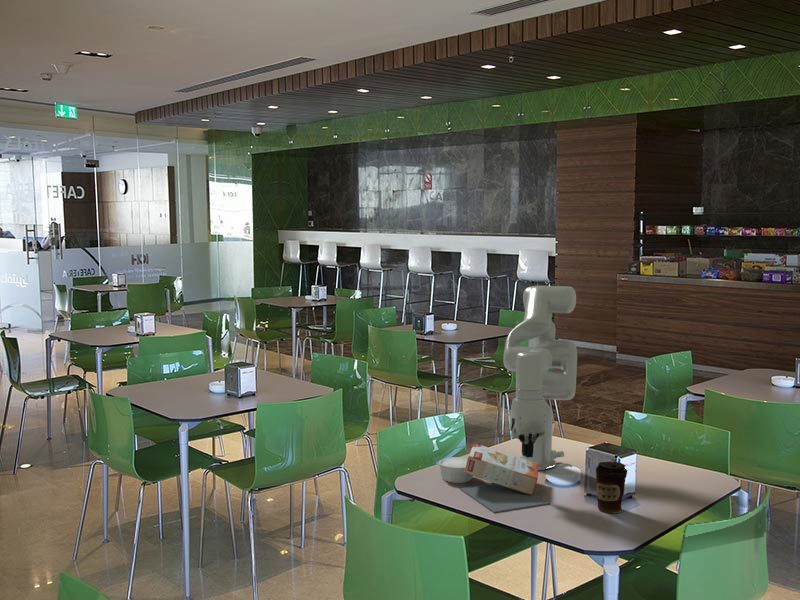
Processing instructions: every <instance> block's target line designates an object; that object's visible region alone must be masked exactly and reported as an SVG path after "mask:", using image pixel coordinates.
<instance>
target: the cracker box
mask: <svg viewBox="0 0 800 600" xmlns="http://www.w3.org/2000/svg"><path fill="white" fill-rule="evenodd" d="M471 446H472V447H471V450H470V452H469V455H468V460H467V464H466V468H465V472H464V473H466V474H469V475H472V476H473V477H475V478H478V479H480V480H484V481H487V482H491V483H492V484H494V483H496V484H499V485H502V486H505V487H508V488H511V489H514V490H517V491H520V492H523V493H526V494H529V495H533V493H534V494H535V489H536V486H537V484H538V483H537V482H538V477H539V470H538V466H539V464H537V463H534V462H531V461H528V460H525V459H522V458H520V457H518V456H516V455H512V454H510V453H506V452H503V451H499V450H497V449H494V448H490V447H488V446H485V445H482V444H480V443H479V444H478V443H477V442H476V443H475V442H474V443H473V444H472V445H471Z"/></svg>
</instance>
